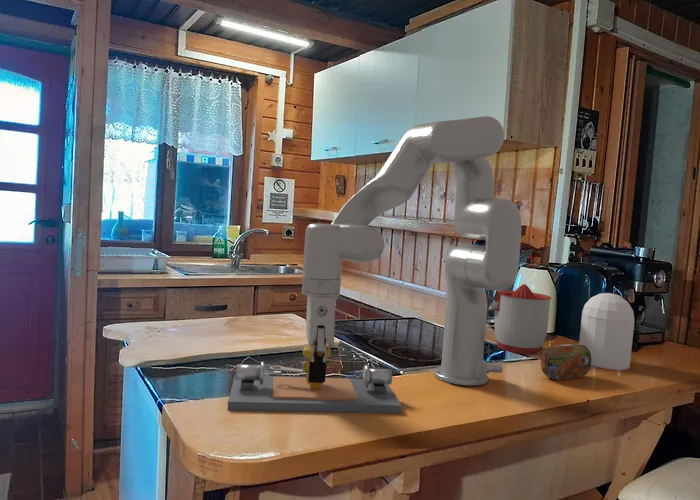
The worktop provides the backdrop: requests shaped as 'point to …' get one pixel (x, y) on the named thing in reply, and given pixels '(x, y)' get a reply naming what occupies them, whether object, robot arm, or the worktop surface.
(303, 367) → the pressure relief valve
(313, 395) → the pipe rig base
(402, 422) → the worktop surface
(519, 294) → the citrus juicer
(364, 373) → the pipe stubs
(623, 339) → the container
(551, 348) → the tin
